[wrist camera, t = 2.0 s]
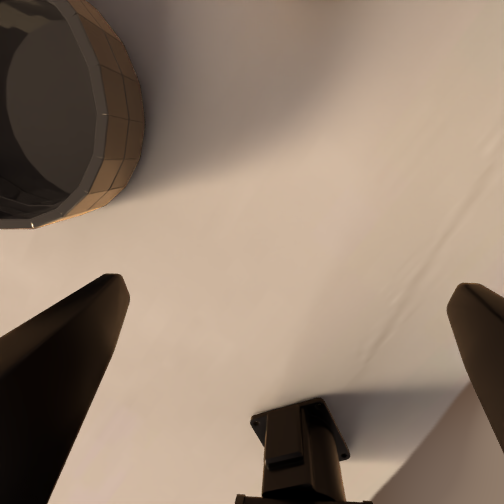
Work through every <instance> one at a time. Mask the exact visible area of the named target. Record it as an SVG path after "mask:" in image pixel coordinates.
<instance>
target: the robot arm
mask: <svg viewBox="0 0 504 504" xmlns="http://www.w3.org/2000/svg"><path fill="white" fill-rule="evenodd" d="M129 302H130V295H129V292H128V290H127V287H126V284H125V282H124V279H123V277H122V276H121V275H120V274H104V275H102V276H100V277H99V278H97V279H95V280H94V281H92V282H90V283H89V284H87V285H86V286H84V287H82V288H81V289H79V290H77V291H76V292H74V293H72V294H71V295H69V296H68V297H66V298H64V299H63V300H61V301H59V302H58V303H56V304H54V305H53V306H51V307H49V308H48V309H46V310H45V311H43V312H41V313H40V314H38V315H36V316H35V317H33V318H31V319H30V320H28V321H27V322H25V323H23V324H22V325H20V326H18V327H17V328H15V329H13V330H12V331H10V332H9V333H7V334H5V335H4V336H2V337H0V504H47V503H48V501H49V499H50V496H51V494H52V492H53V490H54V487H55V485H56V483H57V480H58V478H59V476H60V474H61V471H62V469H63V467H64V465H65V462H66V460H67V458H68V455H69V453H70V451H71V449H72V446H73V444H74V442H75V439H76V437H77V435H78V433H79V430H80V428H81V426H82V423H83V421H84V419H85V417H86V414H87V412H88V410H89V407H90V405H91V403H92V401H93V398H94V396H95V394H96V392H97V389H98V387H99V385H100V382H101V380H102V378H103V376H104V373H105V371H106V369H107V366H108V364H109V362H110V360H111V357H112V355H113V352H114V350H115V347H116V344H117V341H118V338H119V334H120V331H121V328H122V325H123V322H124V318H125V315H126V312H127V309H128V306H129ZM447 315H448V318H449V321H450V324H451V327H452V330H453V333H454V336H455V339H456V342H457V345H458V348H459V351H460V354H461V358H462V360H463V363H464V366H465V369H466V371H467V373H468V376H469V378H470V380H471V382H472V385H473V387H474V389H475V391H476V393H477V396H478V398H479V400H480V402H481V404H482V406H483V409H484V411H485V413H486V415H487V417H488V420H489V422H490V424H491V426H492V429H493V431H494V433H495V435H496V437H497V440H498V442H499V444H500V446H501V448H502V451H503V453H504V298H503V297H502V296H500V295H498V294H497V293H495V292H493V291H491V290H490V289H488V288H486V287H485V286H483V285H481V284H478V283H461V284H459V285H458V286H457V288H456V289H455V291H454V293H453V295H452V297H451V299H450V301H449V303H448V305H447ZM318 404H320V405H318ZM256 421H257V422H256ZM250 424H251V426H252V428H253V430H254V431H255V433H256V435H257V436H258V438H259V440H260V441H261V443H262V445H263V446H264V448H265V449H264V468H263V482H262V497H249V496H245V495H243V494H237V497H236V501H235V504H373V503H372V501H363V502H346V498H345V492H344V486H343V480H342V475H341V469H340V463H339V461H343V460H347V459H349V458H350V453H349V449H348V447H347V445H346V443H345V441H344V439H343V437H342V435H341V433H340V431H339V429H338V427H337V425H336V423H335V421H334V419H333V417H332V415H331V413H330V411H329V409H328V407H327V405H326V403H325V401H324V400H323V399H322V398H314V399H311V400H307V401H304V402H300V403H296V404H293V405H289V406H286V407H282V408H278V409H275V410H271V411H267V412H264V413H260V414H257V415H253V416H252V417H251V422H250Z"/></svg>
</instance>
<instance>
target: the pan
mask: <svg viewBox="0 0 504 504" xmlns="http://www.w3.org/2000/svg"><path fill="white" fill-rule="evenodd" d="M144 129H145V117H144V110H143V102H142V95H141V87H140V84H139V80H138V78H137V76H136V73H135V71H134V68H133V66H132V63H131V61H130V59H129V56H128V54H127V51H126V49H125V47H124V45H123V43H122V41H121V40H120V39H119V38H118V36H117V35H116V34H115V32H114V31H113V30H112V28H111V27H110V26H109V24H108V23H107V22H106V20H105V19H104V18H103V17H102V15H101V14H100V13H99V11H98V10H97V9H96V8H95V7H94V6H92V5H91V4H90V3H88V2H87V1H86V0H0V229H36V228H40V227H43V226H46V225H50V224H53V223H56V222H60V221H63V220H66V219H70V218H73V217H77V216H80V215H83V214H85V213H88V212H90V211H93V210H96V209H98V208H101V207H103V206H105V205H107V204H108V203H109V202H110V201H111V200H112V199H113V198H114V197H115V196H116V195H117V194H119V193H120V192H121V191H122V190H123V189H124V188H125V187H126V185H127V183H128V181H129V179H130V177H131V175H132V173H133V171H134V169H135V167H136V165H137V163H138V161H139V158H140V156H141V150H142V143H143V136H144Z"/></svg>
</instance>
